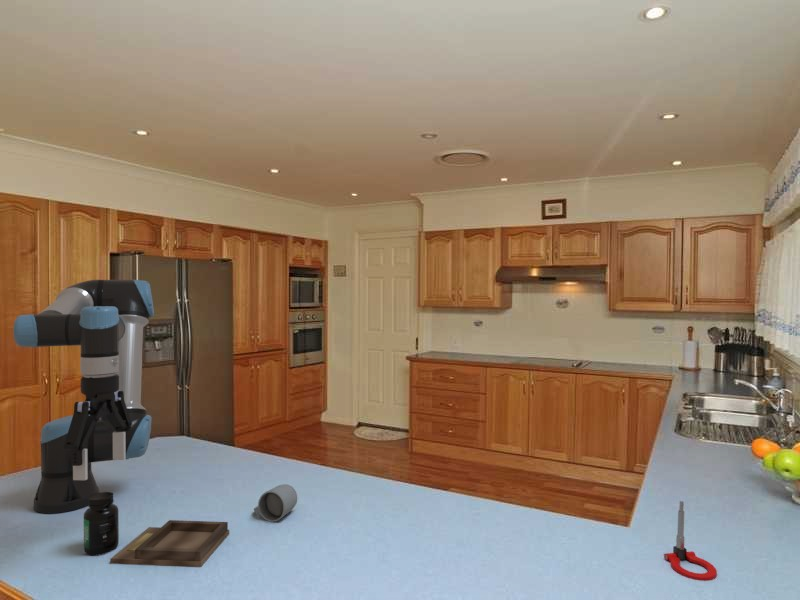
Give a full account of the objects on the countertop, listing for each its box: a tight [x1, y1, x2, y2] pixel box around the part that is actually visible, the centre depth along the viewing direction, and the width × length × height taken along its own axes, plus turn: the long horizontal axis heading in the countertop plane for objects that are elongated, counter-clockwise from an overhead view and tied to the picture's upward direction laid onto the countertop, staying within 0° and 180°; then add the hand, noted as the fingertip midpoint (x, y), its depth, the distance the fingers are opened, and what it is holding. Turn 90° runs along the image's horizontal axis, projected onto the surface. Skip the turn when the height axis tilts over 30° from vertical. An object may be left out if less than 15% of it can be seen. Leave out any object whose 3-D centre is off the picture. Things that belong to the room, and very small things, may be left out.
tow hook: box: [663, 500, 718, 581], centre depth 109 cm, size 8×13×9 cm
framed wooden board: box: [109, 519, 230, 568], centre depth 118 cm, size 20×15×3 cm
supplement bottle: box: [83, 491, 120, 556], centre depth 118 cm, size 7×7×12 cm
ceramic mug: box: [253, 483, 298, 523], centre depth 136 cm, size 11×8×8 cm
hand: (100, 469), depth 118 cm, fingers open, 13 cm apart
